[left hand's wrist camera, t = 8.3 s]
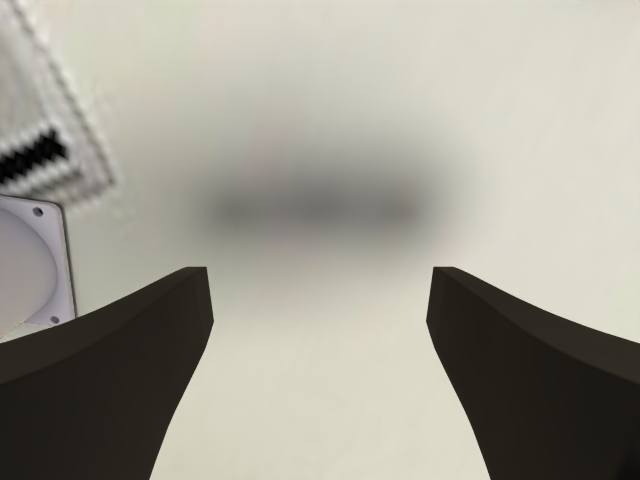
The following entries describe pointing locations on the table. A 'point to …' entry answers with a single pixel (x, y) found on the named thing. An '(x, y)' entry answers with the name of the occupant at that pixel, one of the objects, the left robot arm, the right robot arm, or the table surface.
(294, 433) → the table surface
